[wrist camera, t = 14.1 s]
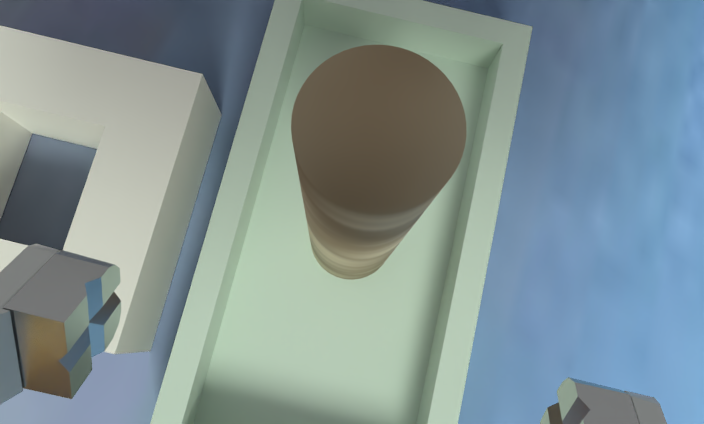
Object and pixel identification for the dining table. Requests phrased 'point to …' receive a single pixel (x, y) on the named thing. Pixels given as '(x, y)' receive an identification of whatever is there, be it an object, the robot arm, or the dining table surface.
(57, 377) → the robot arm
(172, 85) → the socket block
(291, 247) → the tray
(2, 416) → the dining table surface
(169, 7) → the dining table surface
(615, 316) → the dining table surface
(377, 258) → the dowel
